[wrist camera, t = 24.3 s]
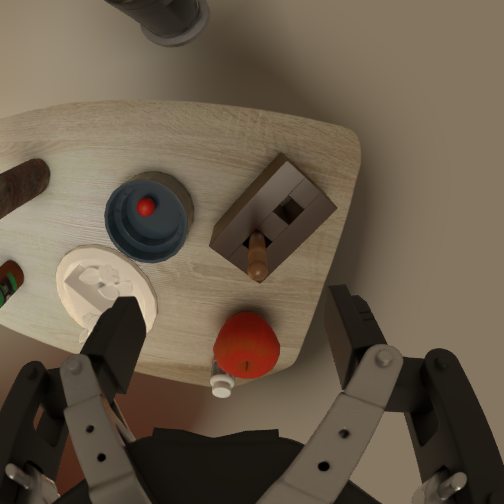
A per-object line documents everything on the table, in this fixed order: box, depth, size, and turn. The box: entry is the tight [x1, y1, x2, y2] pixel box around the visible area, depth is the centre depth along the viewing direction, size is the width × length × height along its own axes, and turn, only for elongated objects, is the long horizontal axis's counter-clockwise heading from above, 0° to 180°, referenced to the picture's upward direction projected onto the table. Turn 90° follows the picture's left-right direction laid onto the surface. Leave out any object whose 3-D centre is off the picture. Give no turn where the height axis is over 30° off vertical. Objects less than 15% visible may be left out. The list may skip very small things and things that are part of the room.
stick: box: [247, 229, 268, 281], centre depth 41 cm, size 2×2×22 cm
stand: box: [209, 153, 337, 283], centre depth 46 cm, size 10×17×8 cm, turn 139°
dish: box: [56, 244, 158, 344], centre depth 53 cm, size 25×25×11 cm
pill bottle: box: [210, 357, 235, 398], centre depth 62 cm, size 5×5×10 cm
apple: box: [213, 312, 280, 378], centre depth 55 cm, size 12×12×14 cm
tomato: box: [137, 197, 155, 217], centre depth 47 cm, size 3×3×3 cm
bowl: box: [104, 172, 194, 263], centre depth 47 cm, size 14×14×6 cm
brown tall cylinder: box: [0, 159, 50, 219], centre depth 36 cm, size 8×7×20 cm
